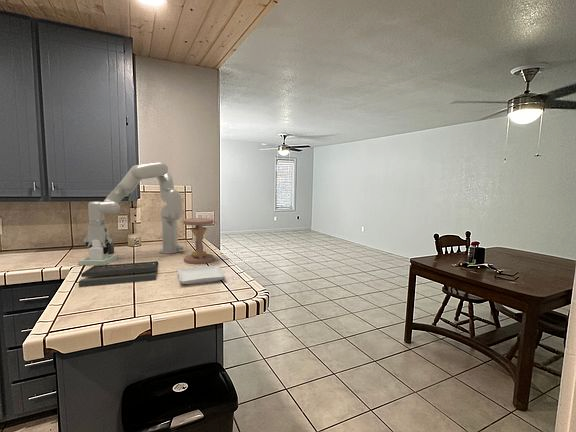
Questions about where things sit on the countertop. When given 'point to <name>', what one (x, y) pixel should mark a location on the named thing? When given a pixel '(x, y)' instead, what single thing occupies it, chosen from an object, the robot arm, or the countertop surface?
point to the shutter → (119, 270)
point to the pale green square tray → (97, 261)
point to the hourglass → (198, 241)
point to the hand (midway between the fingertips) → (98, 253)
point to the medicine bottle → (97, 251)
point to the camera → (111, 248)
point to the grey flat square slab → (200, 274)
